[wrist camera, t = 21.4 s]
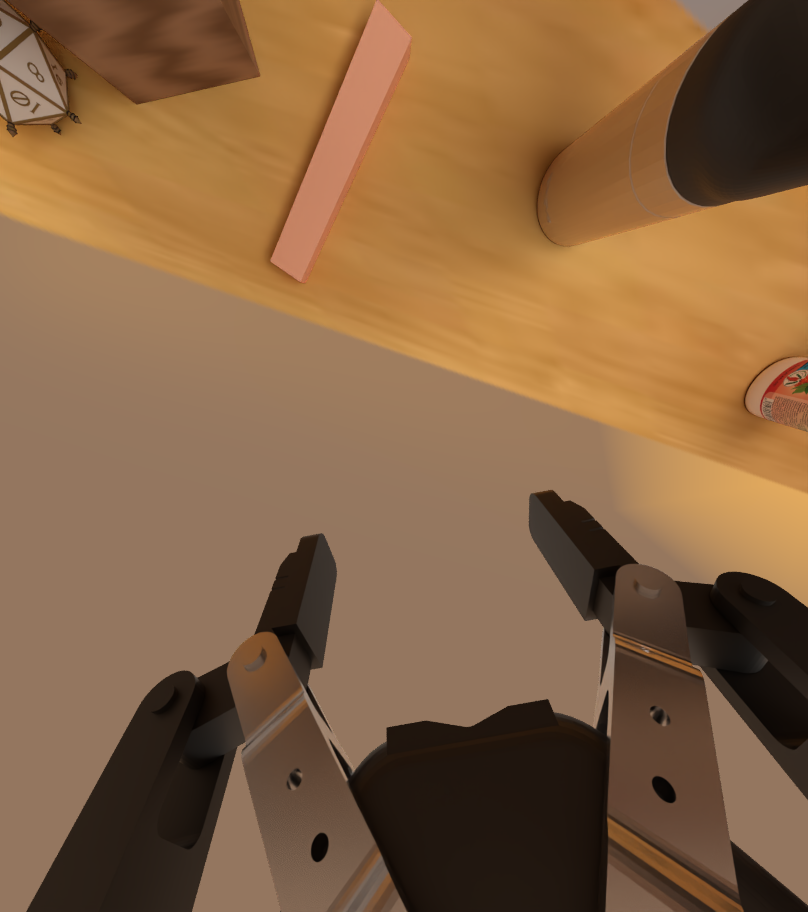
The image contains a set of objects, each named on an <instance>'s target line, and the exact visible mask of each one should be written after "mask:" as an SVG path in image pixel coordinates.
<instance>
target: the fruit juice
mask: <svg viewBox="0 0 808 912" xmlns="http://www.w3.org/2000/svg"><path fill="white" fill-rule="evenodd" d="M745 404H746V408H747V409H748V411H749V412H751V413H752V414H754V415H756V416H758V417H761V418H764V419H768V420H771V421H774V422H777V423H780V424H784V425H787V426H790V427H793V428H797V429H800V430H803V431H806V432H808V358H807V357H792V358H787V359H783V360H781V361H778V362H776V363H774V364H773V365H771V366H769V367H768V368H767V369H765V370H764V371H763V372H762V373H761V374H760V375H759V376H758V377H757V378H756V379H755V380H754V381H753V383H752V384H751V386H750V388H749V390H748V392H747V394H746V399H745Z"/></svg>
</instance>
